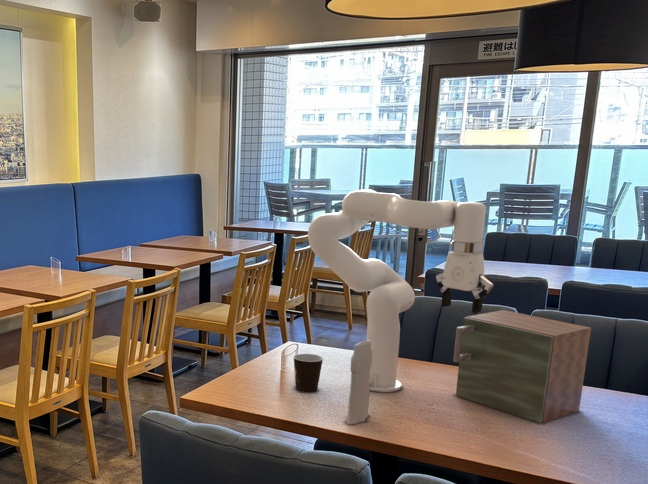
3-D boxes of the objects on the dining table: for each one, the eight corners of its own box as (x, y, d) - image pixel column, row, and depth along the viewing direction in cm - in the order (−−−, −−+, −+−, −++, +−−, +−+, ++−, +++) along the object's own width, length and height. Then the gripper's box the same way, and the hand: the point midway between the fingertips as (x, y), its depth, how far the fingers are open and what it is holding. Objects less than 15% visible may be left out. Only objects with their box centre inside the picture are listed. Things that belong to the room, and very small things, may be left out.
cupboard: (542, 422, 192) (554, 335, 186) (458, 395, 214) (466, 316, 208) (579, 411, 200) (591, 327, 194) (494, 385, 222) (503, 309, 216)
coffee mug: (315, 395, 214) (317, 363, 211) (288, 390, 218) (289, 359, 216) (328, 384, 223) (329, 354, 221) (301, 380, 228) (303, 350, 225)
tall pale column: (354, 426, 190) (360, 346, 184) (340, 422, 192) (345, 343, 187) (374, 416, 197) (379, 338, 192) (360, 412, 200) (365, 335, 194)
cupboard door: (525, 427, 188) (537, 340, 182) (441, 399, 210) (449, 320, 204) (542, 422, 192) (553, 336, 186) (457, 394, 213) (466, 317, 208)
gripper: (431, 245, 202) (426, 305, 206) (486, 252, 188) (480, 316, 192) (448, 243, 206) (443, 302, 210) (504, 250, 191) (497, 313, 195)
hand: (460, 309), depth 201 cm, fingers open, 9 cm apart
